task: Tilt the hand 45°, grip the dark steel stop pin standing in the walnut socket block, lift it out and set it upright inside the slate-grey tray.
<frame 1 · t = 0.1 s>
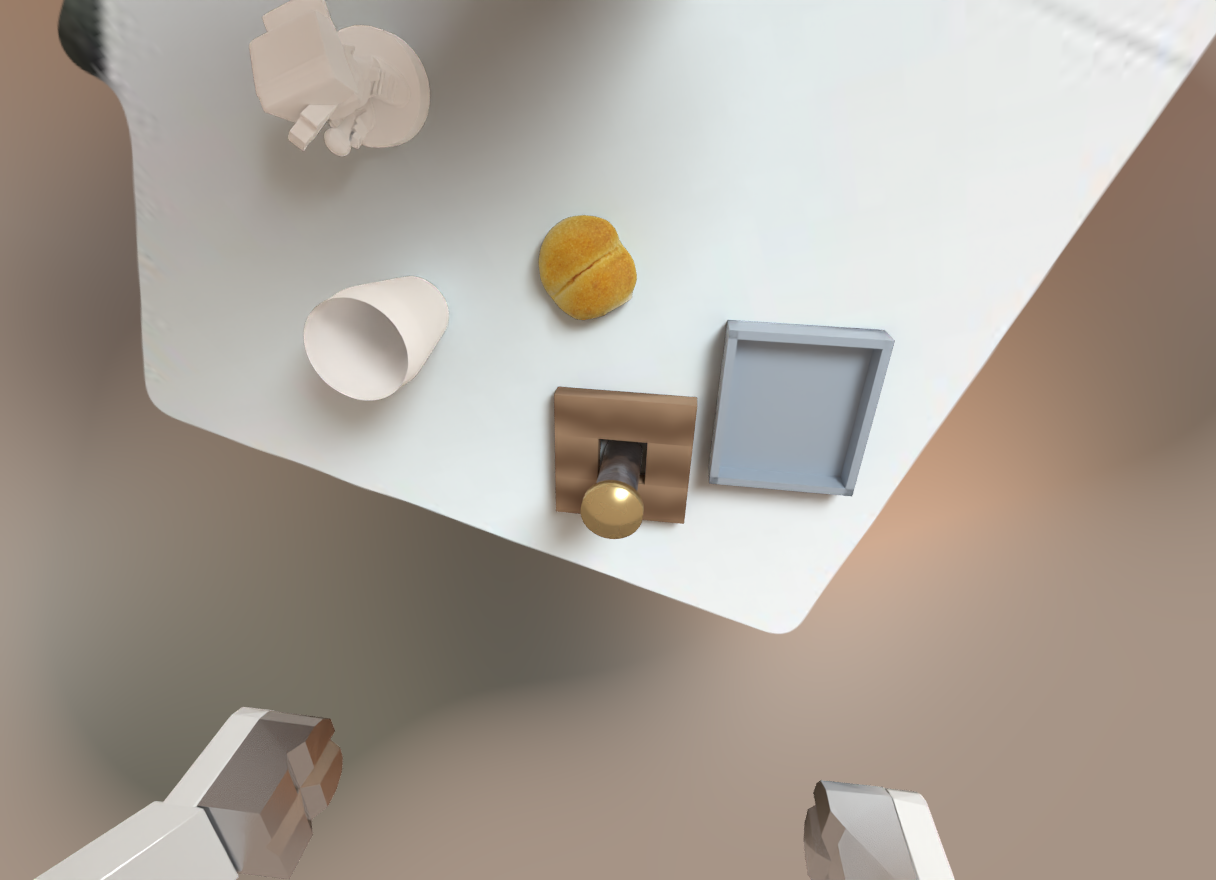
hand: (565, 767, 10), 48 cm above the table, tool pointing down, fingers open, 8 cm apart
character figurine: (377, 83, 49), on the table
cup: (417, 309, 58), on the table
tray: (789, 404, 57), on the table
stop pin: (618, 480, 57), in the socket block
bread roll: (590, 266, 54), on the table
socket block: (623, 452, 62), on the table
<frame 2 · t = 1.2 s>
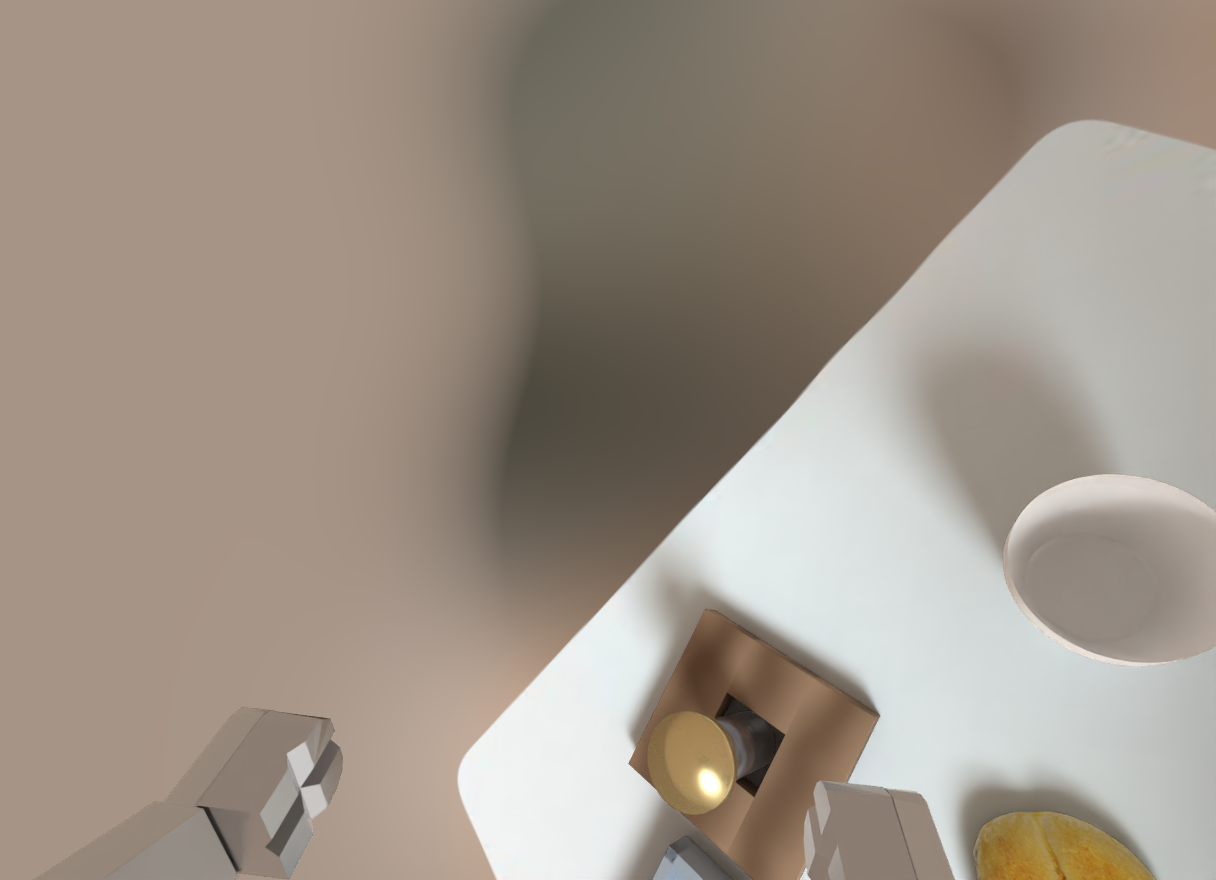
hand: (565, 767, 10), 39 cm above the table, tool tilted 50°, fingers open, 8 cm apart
cup: (1088, 586, 37), on the table
stop pin: (721, 749, 41), in the socket block
socket block: (749, 739, 45), on the table
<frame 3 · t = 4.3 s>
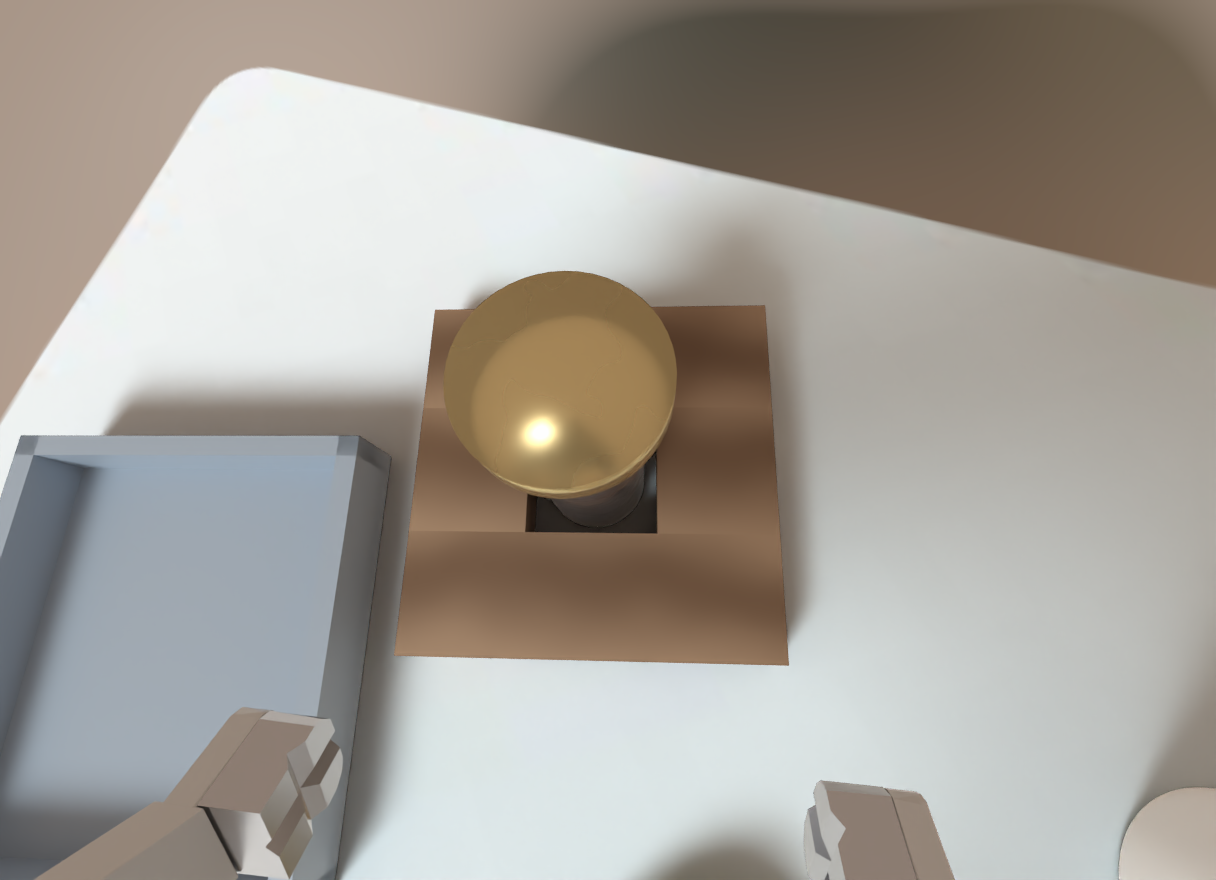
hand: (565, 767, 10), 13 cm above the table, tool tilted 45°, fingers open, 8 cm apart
tray: (196, 647, 24), on the table
stop pin: (583, 441, 19), in the socket block
socket block: (596, 479, 25), on the table
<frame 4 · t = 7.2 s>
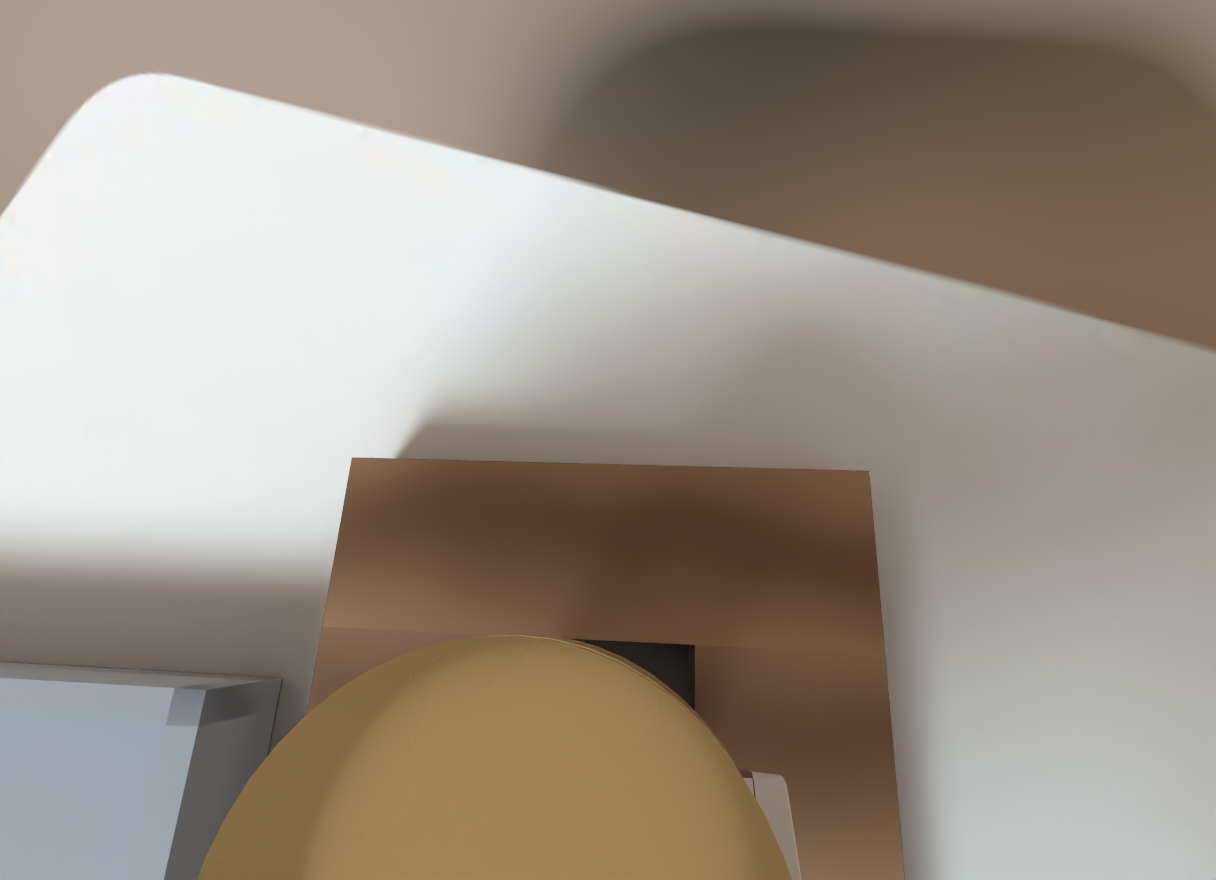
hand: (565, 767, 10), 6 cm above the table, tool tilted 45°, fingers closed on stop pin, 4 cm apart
stop pin: (568, 794, 10), in the socket block, touching gripper
socket block: (595, 735, 16), on the table
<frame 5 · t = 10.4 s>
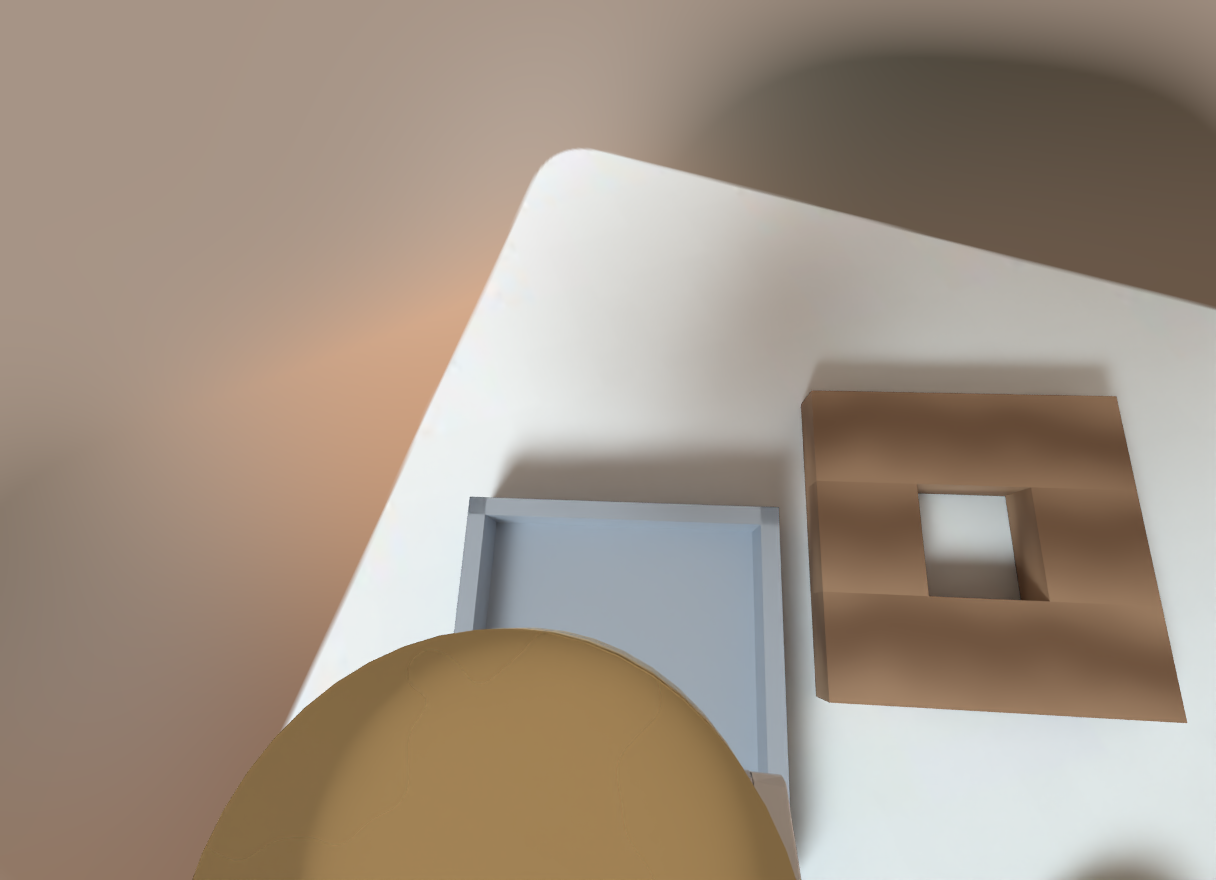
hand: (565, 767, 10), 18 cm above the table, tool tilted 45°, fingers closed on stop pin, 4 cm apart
tray: (617, 684, 27), on the table
stop pin: (567, 790, 10), point 18 cm above the table, touching gripper
socket block: (958, 545, 28), on the table
when the fingers open (9 cm above the table, at t = 13.4 s): stop pin drops 2 cm, resting on tray.
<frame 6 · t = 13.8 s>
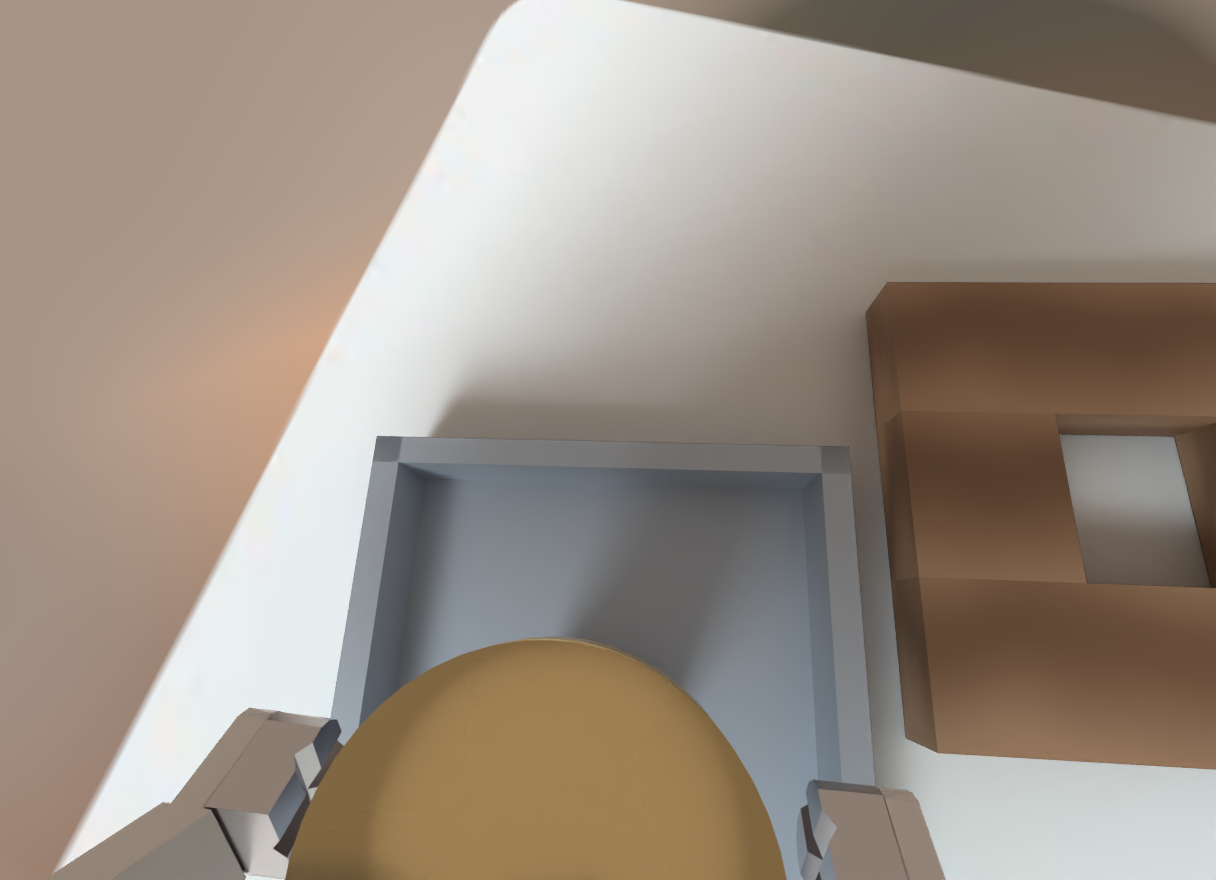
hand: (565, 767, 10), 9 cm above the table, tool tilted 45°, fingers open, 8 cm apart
tray: (600, 720, 18), on the table
stop pin: (579, 773, 12), in the tray, point 6 cm above the table
socket block: (1109, 509, 19), on the table
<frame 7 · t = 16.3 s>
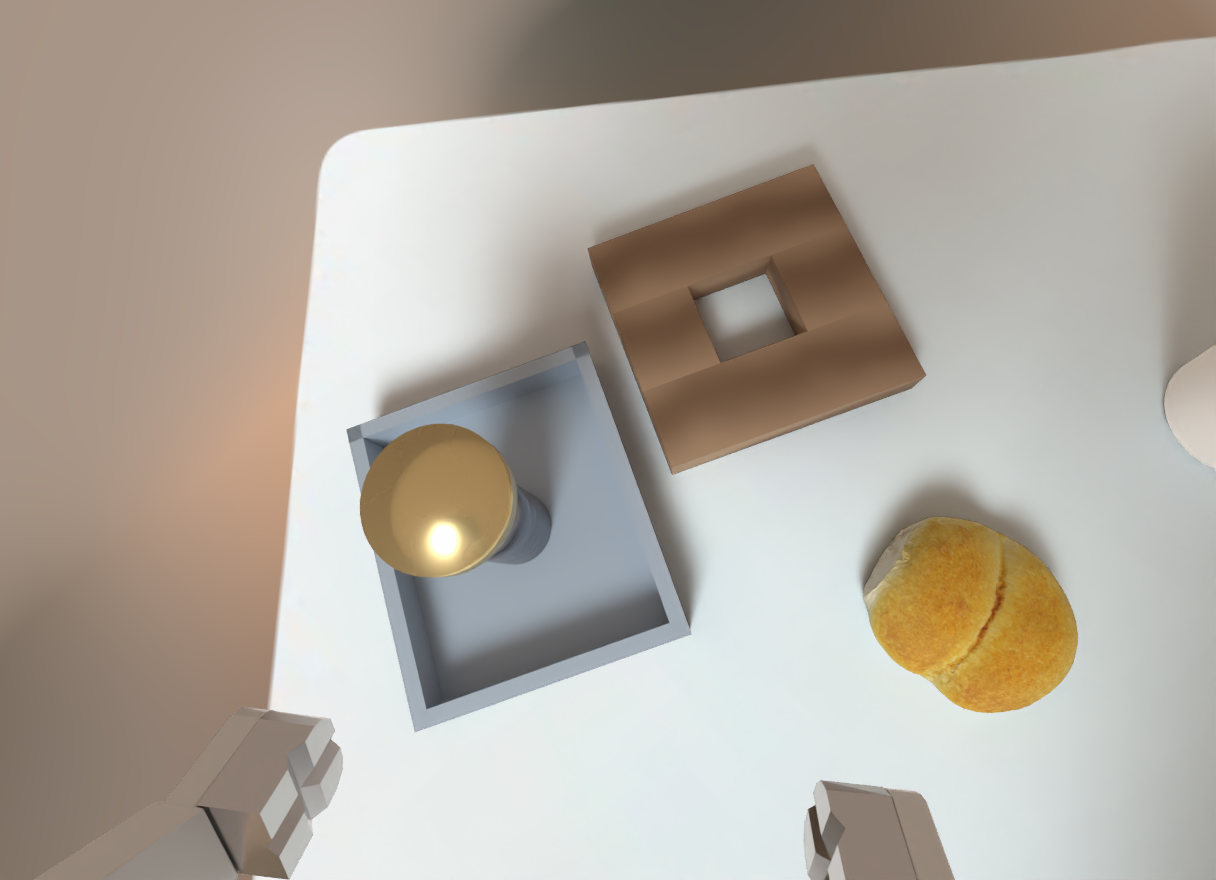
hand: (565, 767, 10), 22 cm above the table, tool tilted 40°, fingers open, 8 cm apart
tray: (520, 529, 33), on the table
stop pin: (482, 515, 27), in the tray, point 6 cm above the table
bread roll: (949, 609, 30), on the table
socket block: (742, 323, 34), on the table
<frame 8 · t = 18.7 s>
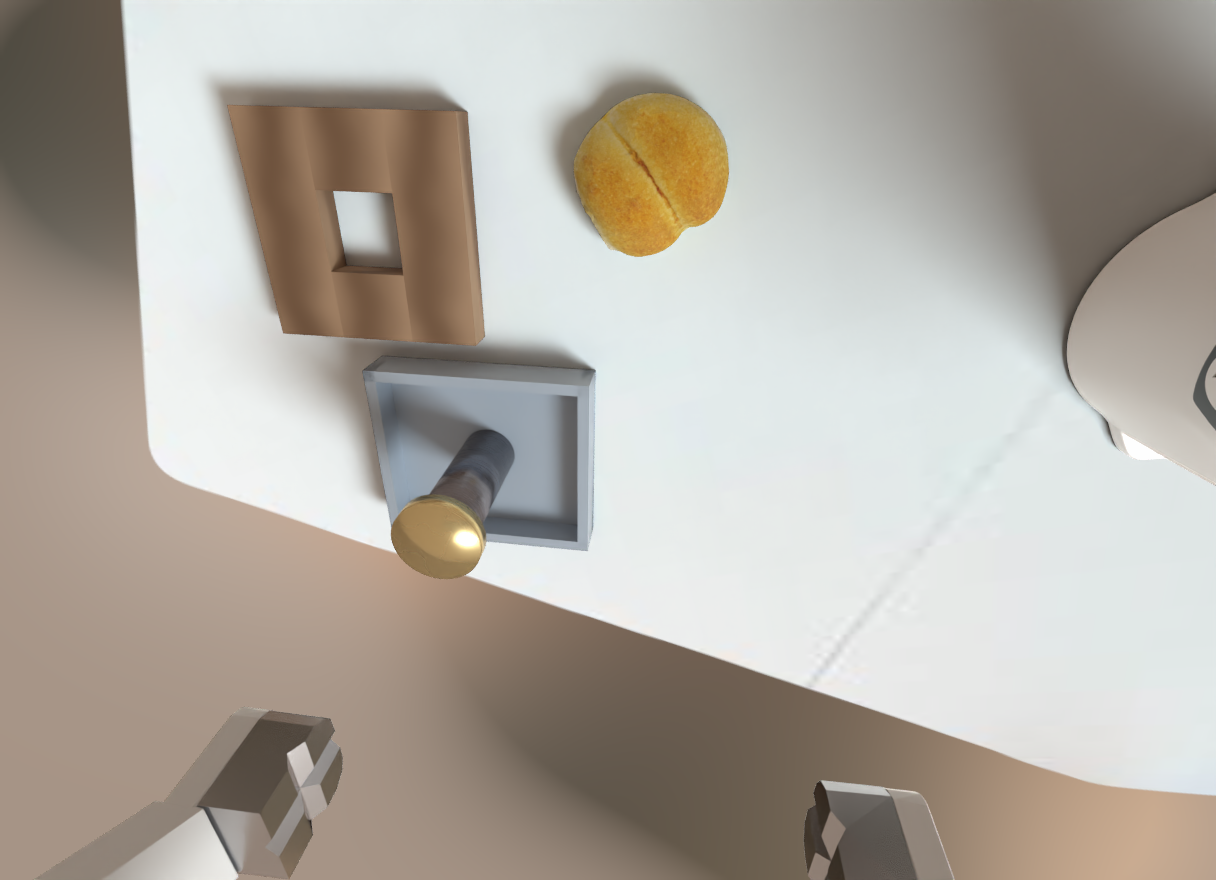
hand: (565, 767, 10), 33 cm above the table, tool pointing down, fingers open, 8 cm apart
tray: (493, 446, 46), on the table
stop pin: (465, 492, 40), in the tray, point 6 cm above the table
bread roll: (650, 177, 36), on the table
socket block: (375, 229, 39), on the table
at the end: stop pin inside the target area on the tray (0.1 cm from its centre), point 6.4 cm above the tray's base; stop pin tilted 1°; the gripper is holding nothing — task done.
